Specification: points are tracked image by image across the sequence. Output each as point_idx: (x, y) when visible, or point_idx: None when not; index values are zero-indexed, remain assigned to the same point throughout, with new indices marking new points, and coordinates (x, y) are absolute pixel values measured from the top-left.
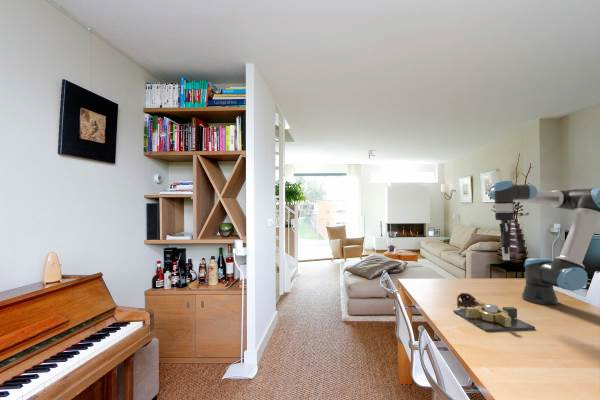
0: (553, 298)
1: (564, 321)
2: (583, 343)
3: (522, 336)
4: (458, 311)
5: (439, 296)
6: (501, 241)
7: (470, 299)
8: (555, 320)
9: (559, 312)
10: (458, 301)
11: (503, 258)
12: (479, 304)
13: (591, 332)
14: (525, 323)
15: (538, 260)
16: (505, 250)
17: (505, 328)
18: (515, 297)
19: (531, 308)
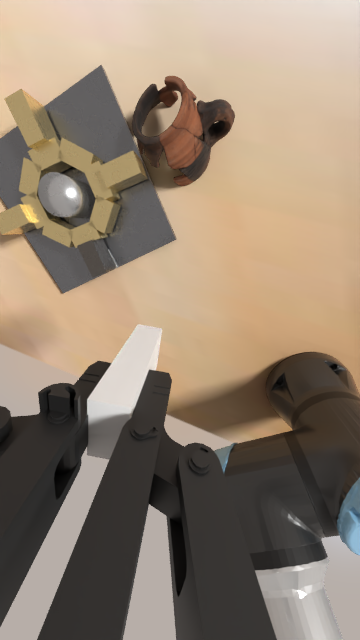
0: (275, 410)
1: None
2: (36, 347)
3: (4, 247)
4: (93, 86)
5: (315, 15)
6: (229, 495)
7: (138, 135)
8: None
9: (212, 385)
10: (150, 85)
11: (134, 331)
12: (103, 166)
13: None
14: (77, 280)
15: (356, 512)
16: (78, 385)
17: None
18: (330, 338)
19: (227, 341)
